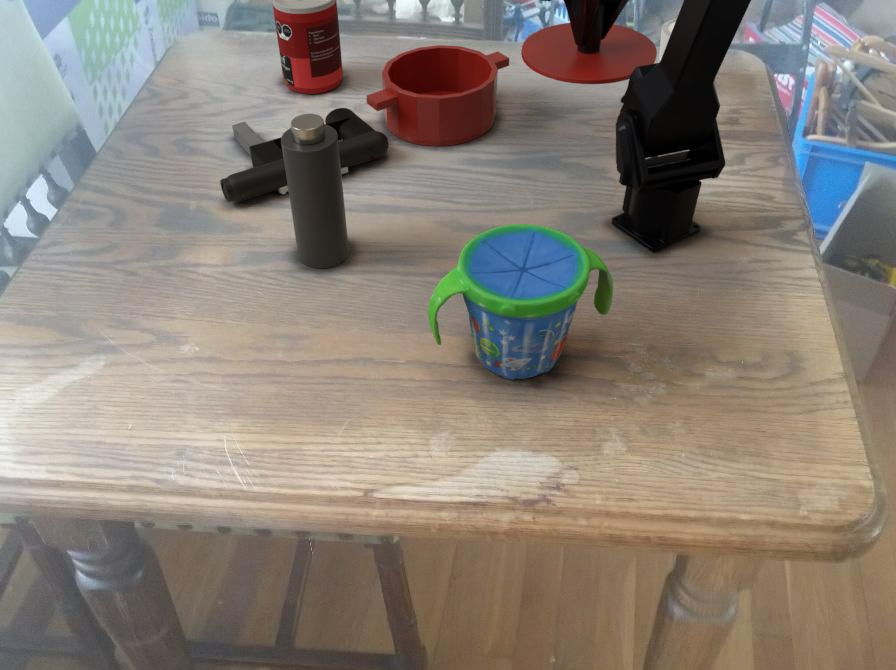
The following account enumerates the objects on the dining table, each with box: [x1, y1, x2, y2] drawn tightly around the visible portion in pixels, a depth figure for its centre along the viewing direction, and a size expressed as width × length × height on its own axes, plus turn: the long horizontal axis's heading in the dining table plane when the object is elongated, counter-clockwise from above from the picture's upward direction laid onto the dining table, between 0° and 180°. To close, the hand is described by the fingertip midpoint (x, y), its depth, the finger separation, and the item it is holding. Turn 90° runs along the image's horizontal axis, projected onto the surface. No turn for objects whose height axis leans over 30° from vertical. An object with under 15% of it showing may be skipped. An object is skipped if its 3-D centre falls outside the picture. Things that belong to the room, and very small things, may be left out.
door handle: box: [219, 107, 390, 203], centre depth 100 cm, size 3×20×16 cm
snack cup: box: [427, 223, 614, 381], centre depth 73 cm, size 16×10×10 cm
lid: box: [520, 0, 658, 85], centre depth 92 cm, size 14×14×6 cm
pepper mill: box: [280, 113, 350, 269], centre depth 83 cm, size 5×5×14 cm
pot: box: [366, 44, 510, 147], centre depth 104 cm, size 13×19×6 cm
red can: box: [272, 0, 344, 95], centre depth 110 cm, size 8×8×11 cm
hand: (589, 41), depth 93 cm, fingers closed on lid, 2 cm apart
